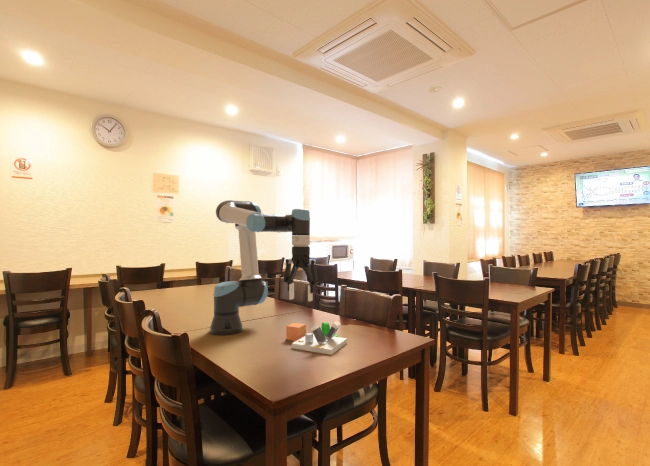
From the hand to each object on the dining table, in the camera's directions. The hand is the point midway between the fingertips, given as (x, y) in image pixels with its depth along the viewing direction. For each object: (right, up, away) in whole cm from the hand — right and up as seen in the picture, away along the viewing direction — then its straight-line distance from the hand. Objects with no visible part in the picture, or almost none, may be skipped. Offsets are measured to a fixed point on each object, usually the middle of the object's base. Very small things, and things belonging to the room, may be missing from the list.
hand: (300, 299), depth 143 cm
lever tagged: (+9, -16, -4) cm, 19 cm away
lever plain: (+12, -16, +2) cm, 20 cm away
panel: (+8, -19, 0) cm, 21 cm away
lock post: (+4, -17, -2) cm, 18 cm away
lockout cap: (-3, -19, +10) cm, 22 cm away
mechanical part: (+11, -20, +13) cm, 26 cm away
